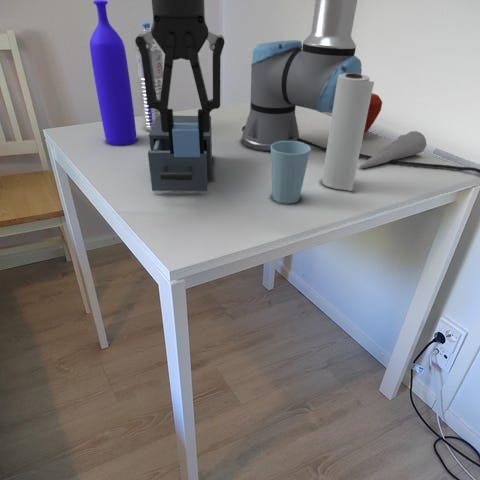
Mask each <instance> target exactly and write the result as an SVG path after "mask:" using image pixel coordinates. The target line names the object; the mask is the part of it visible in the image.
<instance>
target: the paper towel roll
mask: <svg viewBox="0 0 480 480" xmlns="http://www.w3.org/2000/svg"><path fill="white" fill-rule="evenodd" d="M374 85H375V82H374V81H372V80H370V77H369V76H368V75H365V74H362V73H361V74H352V73H346V74H340V75H338V79H337V85H336V92H335V98H334V105H333V112H332V113H331V117H330V118H331V119H330V126H329V132H328V139H327V144H326V148H327V151H325V158H324V165H323V171H322V177H321V178H322V179H321V183H322V184H323V186H326V187H328V188H332V189H335V190H343V191H344V190H345V191H349V192H353V189H354V183H355V179H356V174H357V170H358V169H357V168H358V163H359V158H360V157H359V154H361V149H362V144H363V138H364V135H365V134H364V129H365V124H366V119H367V114H368V109H369V105H370V100H371V95H372V93H373V90H374Z"/></svg>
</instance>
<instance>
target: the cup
mask: <svg viewBox="0 0 480 480" xmlns="http://www.w3.org/2000/svg"><path fill="white" fill-rule="evenodd" d="M310 154H311V147H310V145H308V144H305V143H303V142H300V141H299V142H297V141H279V142H275V143H273V144H272V145H271V151H270V161H271V166H270V167H271V187H272V189H271V190H272V191H271V192H272V193H271V194H272V200H274V201H275V202H277V203H279V204H285V205H286V204H288V205H289V204H294V203H295V204H296V202H298V201H299V200H300V197H301V192H302V189H303V188H302V187H303V183H304V178H305V176H306V175H305V174H306V170H307V166H308V163H309V158H310Z"/></svg>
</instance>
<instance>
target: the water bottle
mask: <svg viewBox="0 0 480 480" xmlns="http://www.w3.org/2000/svg"><path fill="white" fill-rule="evenodd" d="M141 25H142V31H140V32H139V34H142V35H143V34H145V33H147V32H150V31H151V23H150V22H141ZM152 44H153V46H152V49H151V50H150V51H151V57H152V65H153V74H154V82H155V91H156V99H158V100H160V98H161V89H162V80H163V71H164V61H163V51H162V49H161V48H160V46H159V45H158V44H157V42H156V41H155V39H153V40H152ZM134 50H135V56H136V64H137V73H138V86H139V94H140V103H141V110H142V111H141V112H142V120H143V127H144V129H145V130H146V131H149V132H151V129H152V127H153V124H154V122H155V119H156V117H157V115H160V112H159V111H158V110H156V109H154V108H149V106H148V103H147V95H146V87H145V80H144V72H143V65H142V57H141V54H140V51H139V49H138V47H137V45H136V42H135V41H134Z"/></svg>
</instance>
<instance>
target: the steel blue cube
mask: <svg viewBox="0 0 480 480" xmlns="http://www.w3.org/2000/svg"><path fill="white" fill-rule="evenodd" d="M172 135H173V147H174V157H200V145H199V128H198V123H174V125H173V129H172Z"/></svg>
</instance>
